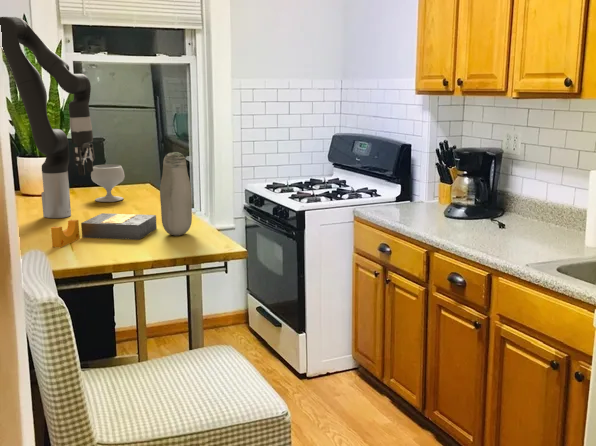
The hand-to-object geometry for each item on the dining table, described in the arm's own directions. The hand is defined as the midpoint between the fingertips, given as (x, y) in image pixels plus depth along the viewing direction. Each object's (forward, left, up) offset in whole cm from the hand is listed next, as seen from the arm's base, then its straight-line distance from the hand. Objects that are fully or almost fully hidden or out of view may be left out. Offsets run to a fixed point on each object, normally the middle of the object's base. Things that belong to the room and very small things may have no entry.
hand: (86, 173), depth 239 cm
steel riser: (+21, -20, -17) cm, 34 cm away
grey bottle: (+41, -19, -18) cm, 48 cm away
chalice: (-9, +38, -18) cm, 43 cm away
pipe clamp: (+8, -35, -18) cm, 40 cm away
